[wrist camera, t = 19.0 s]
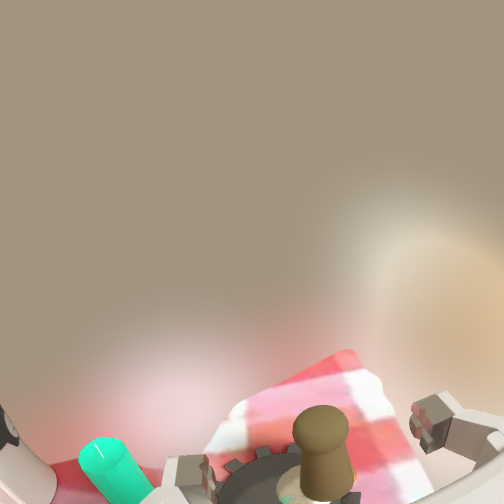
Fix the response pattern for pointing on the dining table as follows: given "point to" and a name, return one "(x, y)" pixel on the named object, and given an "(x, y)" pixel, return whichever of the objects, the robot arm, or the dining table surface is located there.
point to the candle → (114, 471)
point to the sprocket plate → (270, 481)
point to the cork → (323, 453)
